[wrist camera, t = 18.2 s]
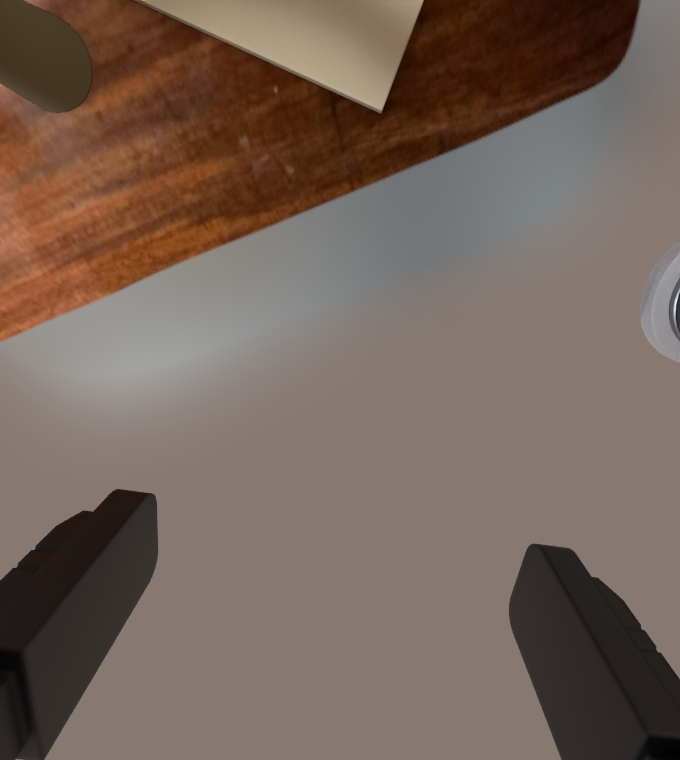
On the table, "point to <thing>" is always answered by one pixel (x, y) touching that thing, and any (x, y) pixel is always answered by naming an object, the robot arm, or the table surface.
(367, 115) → the table surface
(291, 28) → the board
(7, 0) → the olive pawn
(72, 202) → the table surface
